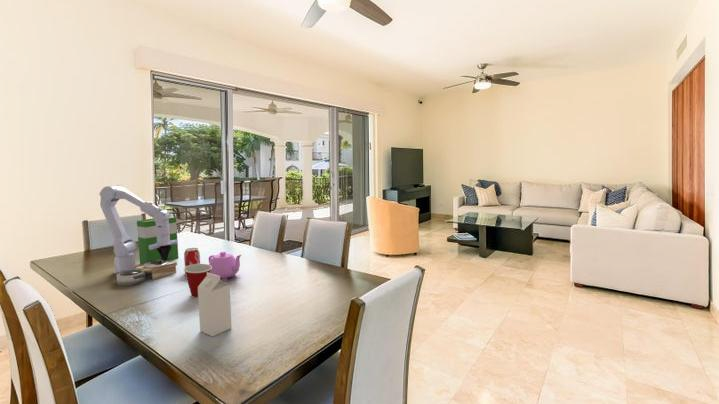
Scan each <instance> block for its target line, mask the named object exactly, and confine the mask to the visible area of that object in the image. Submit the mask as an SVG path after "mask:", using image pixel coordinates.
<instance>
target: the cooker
mask: <svg viewBox="0 0 719 404" xmlns="http://www.w3.org/2000/svg"><path fill="white" fill-rule="evenodd" d="M115 275H116V284H117V286H118V287H119V286H120V287H129V286H135V285H139V284H142V283H144V282H145V281H146V277H147V274H145V270H142V269H133V270H124V271H121V272H117V273H116V274H115Z"/></svg>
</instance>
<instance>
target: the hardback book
mask: <svg viewBox="0 0 719 404" xmlns="http://www.w3.org/2000/svg"><path fill="white" fill-rule="evenodd" d="M168 220H169V234H170V240H178V229H177V217H176V216H174V217H170V218H169V219H168ZM136 227H137V229H136V230H137V241H138V243H137V244H138V256H139V265H141V264H145V263H148V262H151V260H159V259H160V260H161V261H162V258H161V256H160V254H159V252H158V251H157V249H156V248H155V249H153V250H150V249H149V245H152V244H155V243H157V234H156V222H155V221H154V220H153V218H148V219H147V218H146V219H139V220H136ZM170 246H172V248H171V250H170V252H169V255H168V259H167V261H168V262H170V261H173V260H177V259H179V243H178V244H172V245H170Z"/></svg>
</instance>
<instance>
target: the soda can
mask: <svg viewBox="0 0 719 404" xmlns="http://www.w3.org/2000/svg"><path fill="white" fill-rule="evenodd" d="M183 255H184V256H183V259H184V267H186V266H189V265H193V264H201V253H200V251H199V249H198V247H190V248H186V249H185V251H184V253H183Z"/></svg>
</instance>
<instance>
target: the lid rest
mask: <svg viewBox="0 0 719 404" xmlns="http://www.w3.org/2000/svg"><path fill="white" fill-rule="evenodd" d="M158 261H161V260H160V259H159V260H158ZM148 263H149V262H148ZM145 264H146V263H145ZM177 266H178V262H177V261H176V262H171V261H168V264H167V265H165V266H161V267H157V268H145V267H144V264H138V265H137V264H136V265H135V269H142V270H145V274H146V275H148V274H151V280H156V279H159V278H163V277H166V276H169V275H172V274H175V273H177Z"/></svg>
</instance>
